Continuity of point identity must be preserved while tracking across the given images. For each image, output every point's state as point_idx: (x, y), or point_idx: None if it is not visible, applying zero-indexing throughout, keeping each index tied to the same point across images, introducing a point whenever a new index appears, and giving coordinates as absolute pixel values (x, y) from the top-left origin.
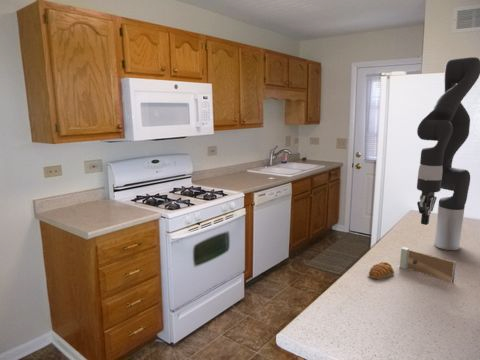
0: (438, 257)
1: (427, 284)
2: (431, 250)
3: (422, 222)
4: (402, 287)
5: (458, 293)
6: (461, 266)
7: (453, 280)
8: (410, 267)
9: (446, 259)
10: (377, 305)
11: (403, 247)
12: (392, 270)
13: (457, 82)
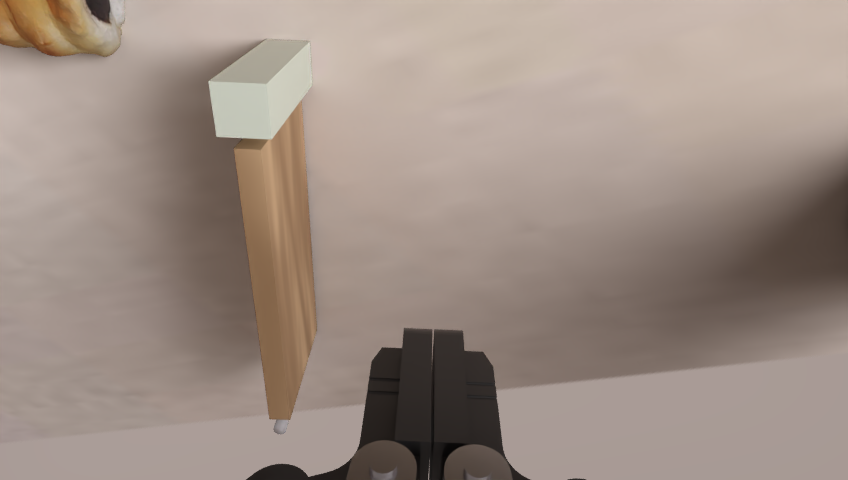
0: (279, 345)
1: (178, 247)
2: (794, 126)
3: (379, 362)
4: (9, 154)
5: (213, 368)
6: (578, 327)
7: None
8: None
9: (286, 385)
10: None
11: (250, 88)
12: (79, 49)
13: None
